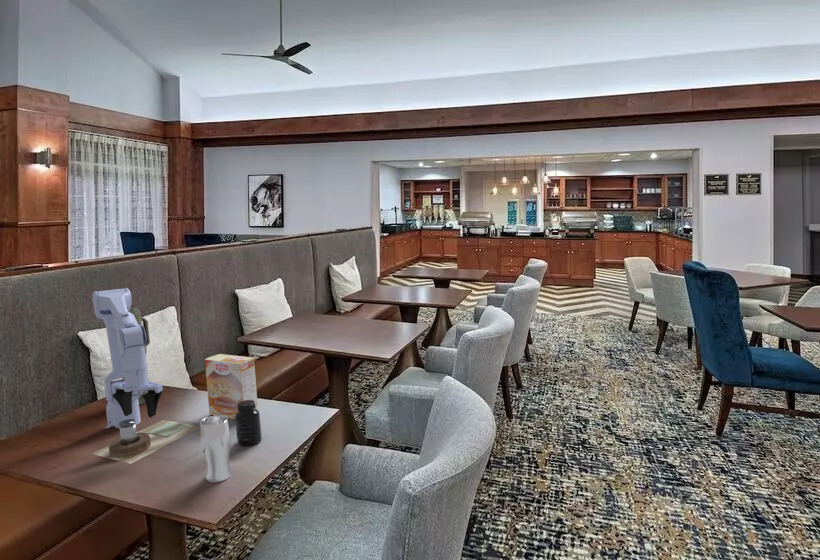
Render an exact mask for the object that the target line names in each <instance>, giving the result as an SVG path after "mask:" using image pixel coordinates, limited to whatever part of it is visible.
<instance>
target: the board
mask: <svg viewBox="0 0 820 560" xmlns="http://www.w3.org/2000/svg"><path fill="white" fill-rule="evenodd" d="M196 430H200V426H196V425H192V424H187V423H183V422H177V421H172V420H167V419H163V420H160V421H158V422H156V423H154V424H152V425H150V426H148V427H146V428H144V429H142V430H140V431H137V440H138V441H137V442H135V443H133V444H129V445H122V444H121V436H120V435H119V436H118V437H116V438H114V439H112V440H111V441H110V442H109V443H108V444H107V446H105V447H102V448H100V449H97V450H96V451H94V452H92V453H91V455H94V456H98V457H102V458H106V459H110V460H114V461H118V462H122V463H125V464H129V465H131V464H133V463H135V462H137V461H139V460H141V459H143V458H145V457H147V456H149V455H151V454H153V453H154V452H156V451H159V450H160V449H162V448H164V447H166V446H168V445H169V444H172V443H174V442H175V441H177V440H179V439H181V438H183V437H185V436H187V435H189V434H190V433H193V432H195V431H196Z"/></svg>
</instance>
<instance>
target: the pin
mask: <svg viewBox="0 0 820 560" xmlns="http://www.w3.org/2000/svg"><path fill="white" fill-rule="evenodd" d="M118 429H119V437H120V436H121V444H122V445H129V444H133V443H135V442H137V441H138V440H137V432H138V431H137V425H136V422H135V420H134V419H128V420H124V421H121V422H120V423H119V428H118Z"/></svg>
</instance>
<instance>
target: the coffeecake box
mask: <svg viewBox="0 0 820 560" xmlns="http://www.w3.org/2000/svg"><path fill="white" fill-rule="evenodd" d="M204 366H205V376H206V388H207V390H206V391H207V399H208V401H207V402H208V409H209V410H208V411H209V416H210V415H213V416H215V415H224V416H227V417H228V419H229V418H230V419H229V420H235V415H236V413H237V412H239V411H238V403H239V402H241V401H245V400H253V401H255V406H256V408H255V409H257V410H258V411H259V406H258V394H257V380H256V367H255V357H252V356H251V357H250V356H242V355H240V356H239V355H231V354H224V353H218V354H216V355H211V356H209V357H207V358H205V359H204Z"/></svg>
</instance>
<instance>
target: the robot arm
mask: <svg viewBox="0 0 820 560" xmlns="http://www.w3.org/2000/svg"><path fill="white" fill-rule="evenodd" d="M91 296H92V304H93V310H94V314H95V316H96V318H97V319H99V320H102V321H103V323H104V325H105V330H106V336H107V342H108V349H109V355H110V361H111V366H112V370H111V371H110V372H109V373H108V374H107V375H106V376H105V377H104V380H103V382H104V393H105V398H106V402H107V404H106V407H105V411H106V412H105V414H106V419H107V420H106V421H107V426H105V428H104V429H109V428H111V427H114V428H116V429H120V428H119V423H120V422H121V421H124V420H128V419H134V420H135V422H136V426H137V425H139V424H140V423H141V421H142V420H141V412H140V406H139V401H138V398H139V395H141V394H142V393H143V391H148V393H146V394H144V395H143V398H144V400H145V403H146V404H145V405H146V410H147V415H148V418H152V417H154V416H156V414H157V409H158V404H159V400H160V398H161V396H162V394H163V392H164V391H163V390H164V388H163V383H156V382H153V381H150V380H149V381H150V382H149V381H148V379H149V375H147V373H148V367H147V366H148V365H147V366H146V364H147V356H146V357H145V347H144V346H143V344H144V345H146V333H145V329H144V327H143V324H142V325H141V324H139V325H138V323H137V321H136V319H135V316H134V315H133V314H132V313H130V312H129V311H130V307H131V306H132V293H131V291H130V289H129V288H127V287H124V288H116V289H107V290H100V291H96V290H95V291H94V292H93V293H92V295H91ZM123 377H124V379H123Z"/></svg>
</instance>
